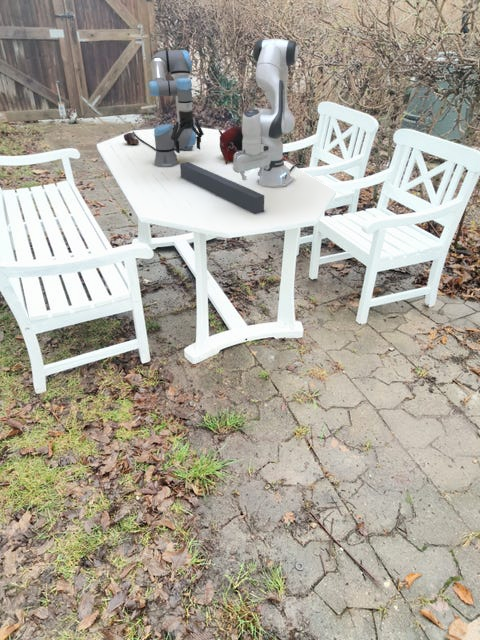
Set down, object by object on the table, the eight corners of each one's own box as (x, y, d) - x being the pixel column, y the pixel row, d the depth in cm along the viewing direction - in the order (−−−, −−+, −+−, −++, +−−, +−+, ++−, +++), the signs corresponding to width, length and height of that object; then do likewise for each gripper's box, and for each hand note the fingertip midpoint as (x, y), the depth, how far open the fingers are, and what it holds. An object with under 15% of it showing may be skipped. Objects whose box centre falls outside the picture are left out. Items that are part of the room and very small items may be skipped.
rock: (136, 143, 344) (123, 145, 340) (134, 131, 341) (121, 132, 336) (140, 144, 335) (127, 145, 331) (138, 132, 331) (125, 133, 327)
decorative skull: (216, 132, 305) (216, 129, 282) (250, 124, 304) (252, 121, 281) (223, 164, 312) (223, 164, 288) (256, 157, 311) (259, 156, 288)
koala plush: (193, 150, 321) (191, 121, 310) (168, 151, 320) (165, 122, 309) (193, 144, 335) (191, 116, 324) (169, 145, 334) (166, 117, 323)
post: (181, 177, 270) (179, 163, 265) (189, 175, 273) (188, 161, 268) (255, 214, 220) (255, 197, 216) (264, 211, 223) (264, 195, 218)
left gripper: (168, 114, 237) (172, 155, 250) (208, 108, 249) (210, 148, 261) (162, 112, 242) (166, 152, 254) (201, 106, 254) (203, 145, 266)
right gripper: (237, 154, 202) (238, 184, 210) (272, 145, 212) (272, 174, 220) (229, 151, 206) (230, 180, 215) (264, 143, 216) (264, 171, 224)
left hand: (188, 150), depth 258 cm, fingers open, 13 cm apart
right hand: (252, 177), depth 217 cm, fingers open, 8 cm apart
